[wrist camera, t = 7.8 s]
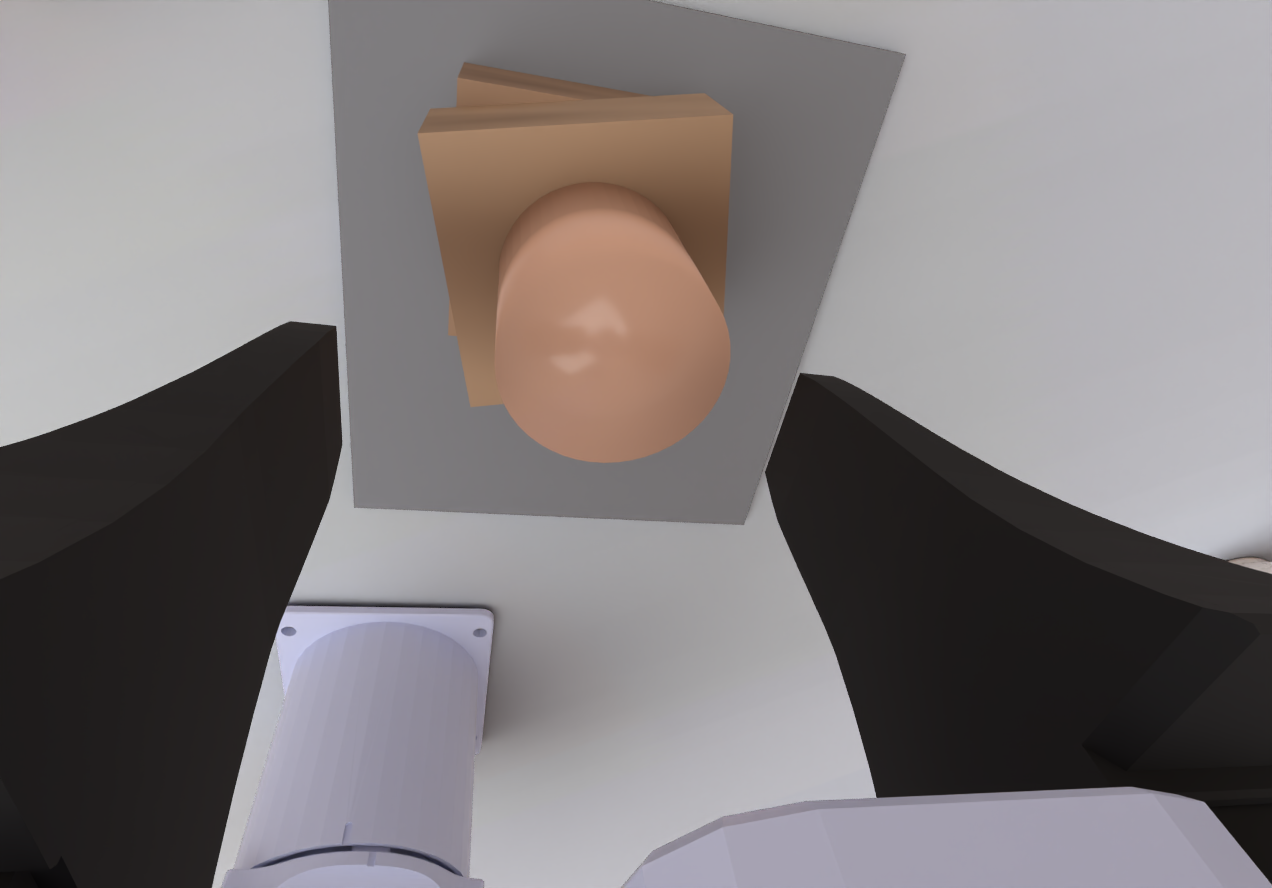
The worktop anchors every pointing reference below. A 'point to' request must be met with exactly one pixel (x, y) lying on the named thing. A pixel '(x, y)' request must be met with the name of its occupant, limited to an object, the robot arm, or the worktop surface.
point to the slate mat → (756, 243)
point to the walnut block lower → (520, 96)
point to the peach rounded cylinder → (605, 327)
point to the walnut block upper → (554, 158)
